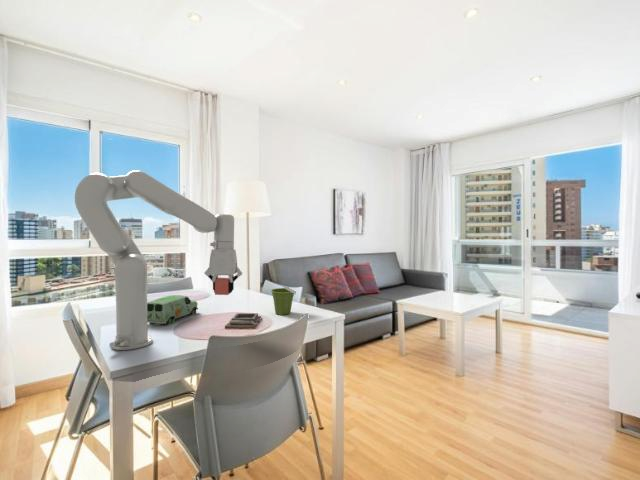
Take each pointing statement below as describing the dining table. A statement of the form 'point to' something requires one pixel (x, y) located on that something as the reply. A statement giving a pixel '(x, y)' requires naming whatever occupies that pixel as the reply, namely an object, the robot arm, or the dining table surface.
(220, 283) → the red block
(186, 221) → the robot arm
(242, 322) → the board
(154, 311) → the toy car
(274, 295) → the plant pot
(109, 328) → the dining table surface
